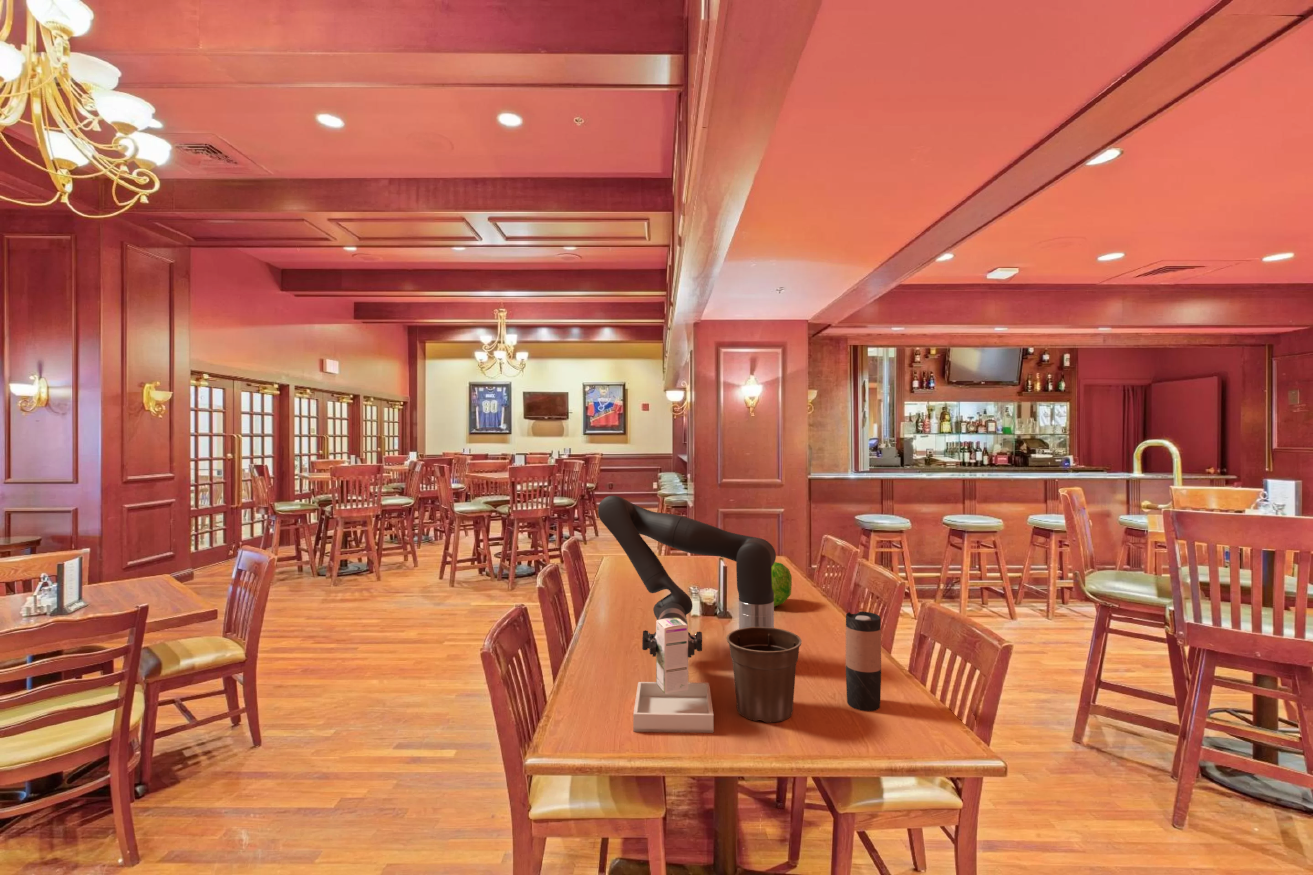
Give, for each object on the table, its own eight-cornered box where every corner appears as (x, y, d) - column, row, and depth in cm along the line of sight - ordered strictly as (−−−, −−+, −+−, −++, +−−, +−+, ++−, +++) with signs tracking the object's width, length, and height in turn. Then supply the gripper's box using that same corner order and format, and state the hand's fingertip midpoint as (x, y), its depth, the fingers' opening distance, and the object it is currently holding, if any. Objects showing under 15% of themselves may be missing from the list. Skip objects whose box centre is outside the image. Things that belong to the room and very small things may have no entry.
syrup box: (689, 691, 129) (690, 624, 129) (663, 694, 127) (664, 626, 127) (679, 680, 134) (680, 616, 134) (654, 684, 132) (655, 618, 132)
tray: (708, 698, 138) (708, 682, 138) (713, 732, 122) (713, 714, 122) (638, 697, 139) (638, 681, 139) (633, 731, 122) (633, 714, 122)
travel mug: (877, 714, 130) (877, 622, 130) (841, 706, 134) (841, 617, 134) (884, 701, 136) (884, 614, 136) (850, 694, 140) (850, 609, 140)
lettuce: (778, 600, 228) (753, 566, 231) (810, 582, 213) (783, 546, 216) (751, 624, 217) (725, 588, 220) (783, 607, 202) (755, 568, 205)
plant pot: (765, 736, 120) (764, 656, 121) (712, 707, 133) (711, 635, 134) (817, 714, 130) (817, 640, 130) (763, 689, 143) (762, 622, 143)
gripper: (643, 611, 145) (638, 634, 129) (702, 612, 145) (705, 635, 128) (642, 642, 145) (638, 669, 129) (701, 643, 145) (705, 670, 128)
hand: (672, 652), depth 128 cm, fingers closed on syrup box, 7 cm apart
